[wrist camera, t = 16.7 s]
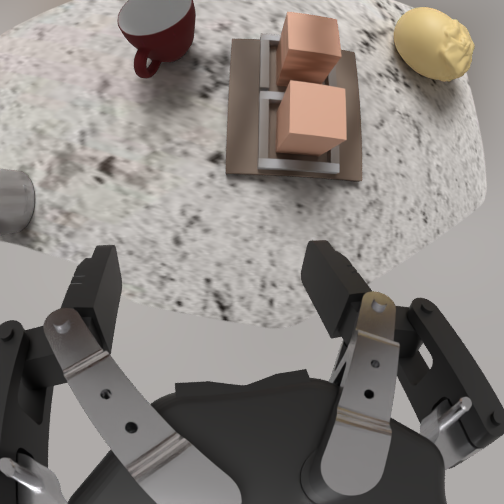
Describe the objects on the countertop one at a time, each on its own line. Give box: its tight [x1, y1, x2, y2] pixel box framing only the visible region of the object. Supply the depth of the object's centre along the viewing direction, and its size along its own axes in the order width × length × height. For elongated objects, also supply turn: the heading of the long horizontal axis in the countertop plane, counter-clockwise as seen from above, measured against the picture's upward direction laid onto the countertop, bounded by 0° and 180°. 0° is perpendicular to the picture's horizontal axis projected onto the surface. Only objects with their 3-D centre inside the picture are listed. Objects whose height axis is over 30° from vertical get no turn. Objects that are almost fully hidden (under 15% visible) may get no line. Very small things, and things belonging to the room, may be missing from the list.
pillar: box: [276, 80, 347, 156], centre depth 26 cm, size 5×5×9 cm
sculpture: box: [394, 7, 474, 82], centre depth 25 cm, size 12×12×11 cm
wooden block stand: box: [226, 12, 362, 182], centre depth 26 cm, size 16×18×10 cm
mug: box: [118, 0, 196, 78], centre depth 24 cm, size 11×8×10 cm
